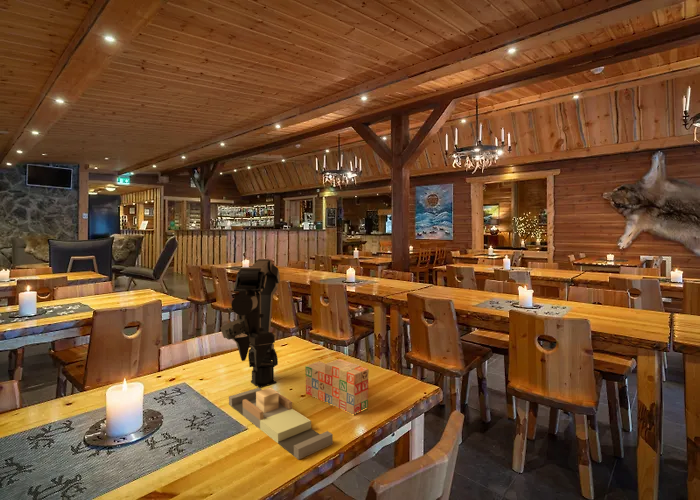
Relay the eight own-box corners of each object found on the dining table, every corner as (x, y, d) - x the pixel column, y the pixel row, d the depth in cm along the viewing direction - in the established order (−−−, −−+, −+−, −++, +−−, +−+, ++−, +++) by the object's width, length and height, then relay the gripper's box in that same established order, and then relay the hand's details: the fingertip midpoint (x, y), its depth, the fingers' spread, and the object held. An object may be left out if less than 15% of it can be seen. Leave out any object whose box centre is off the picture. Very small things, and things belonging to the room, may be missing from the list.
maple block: (270, 402, 115) (270, 387, 114) (278, 408, 111) (278, 392, 111) (256, 407, 112) (256, 391, 111) (264, 413, 108) (264, 397, 108)
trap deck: (259, 395, 125) (258, 381, 125) (332, 444, 98) (332, 426, 97) (228, 404, 119) (228, 389, 119) (298, 459, 91) (298, 440, 91)
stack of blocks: (305, 394, 127) (305, 356, 126) (319, 388, 131) (319, 351, 131) (354, 416, 112) (354, 373, 111) (368, 409, 117) (368, 368, 116)
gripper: (211, 309, 118) (211, 362, 118) (238, 316, 104) (238, 376, 104) (246, 306, 126) (245, 356, 125) (276, 312, 111) (275, 368, 111)
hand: (250, 363), depth 116 cm, fingers open, 9 cm apart
